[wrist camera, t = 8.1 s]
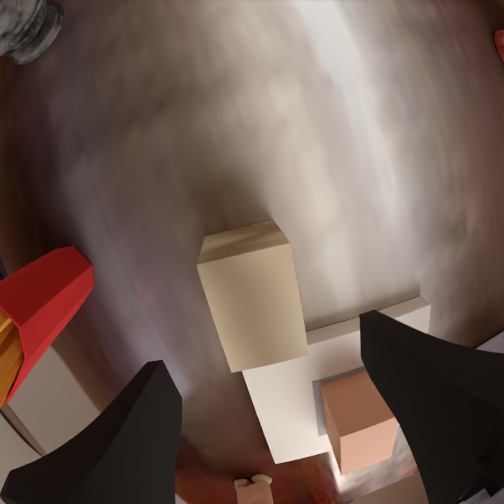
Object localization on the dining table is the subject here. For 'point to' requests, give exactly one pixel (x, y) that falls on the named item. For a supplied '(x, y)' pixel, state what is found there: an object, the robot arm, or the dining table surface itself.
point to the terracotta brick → (357, 422)
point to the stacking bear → (500, 43)
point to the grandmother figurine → (254, 490)
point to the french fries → (38, 310)
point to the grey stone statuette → (28, 28)
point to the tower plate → (315, 382)
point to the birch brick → (253, 295)
